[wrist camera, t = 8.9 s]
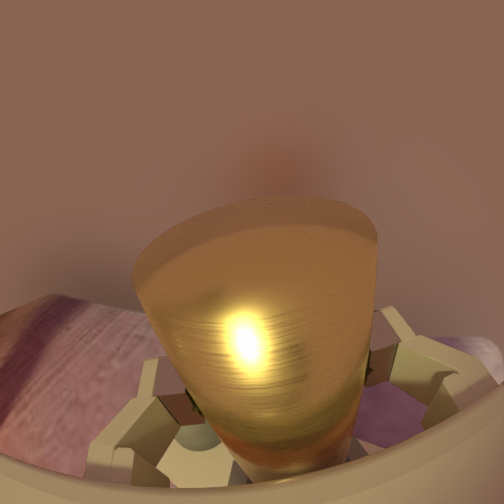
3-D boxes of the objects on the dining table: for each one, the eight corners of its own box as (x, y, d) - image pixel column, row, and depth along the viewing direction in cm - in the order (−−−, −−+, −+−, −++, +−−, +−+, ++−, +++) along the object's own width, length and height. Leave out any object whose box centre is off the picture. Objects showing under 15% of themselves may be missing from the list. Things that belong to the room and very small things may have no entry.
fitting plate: (131, 438, 23) (102, 410, 20) (208, 371, 30) (192, 337, 28) (316, 572, 9) (317, 580, 6) (395, 458, 17) (413, 433, 14)
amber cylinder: (225, 468, 11) (97, 271, 6) (283, 404, 14) (239, 192, 9) (308, 516, 8) (285, 377, 3) (363, 438, 11) (401, 206, 6)
